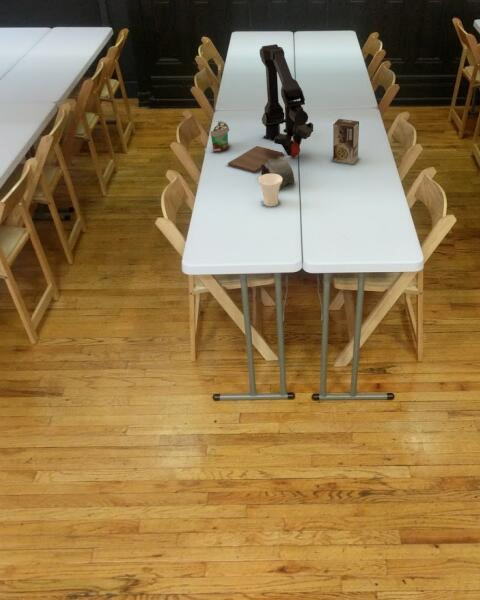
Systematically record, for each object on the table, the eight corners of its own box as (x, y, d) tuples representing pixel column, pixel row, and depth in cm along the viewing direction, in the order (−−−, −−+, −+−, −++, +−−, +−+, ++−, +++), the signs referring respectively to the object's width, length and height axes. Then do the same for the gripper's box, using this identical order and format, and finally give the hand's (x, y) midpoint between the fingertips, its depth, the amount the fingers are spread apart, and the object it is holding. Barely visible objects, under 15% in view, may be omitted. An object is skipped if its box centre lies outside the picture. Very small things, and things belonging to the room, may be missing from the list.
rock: (257, 173, 252) (256, 155, 248) (284, 169, 255) (283, 151, 250) (268, 193, 238) (267, 174, 234) (297, 189, 241) (296, 170, 236)
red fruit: (285, 155, 266) (285, 137, 261) (299, 154, 266) (299, 136, 261) (287, 161, 261) (286, 142, 256) (300, 160, 261) (300, 142, 257)
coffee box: (358, 158, 261) (359, 121, 251) (353, 164, 256) (354, 126, 247) (338, 155, 264) (338, 118, 254) (332, 161, 260) (332, 123, 250)
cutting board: (256, 148, 272) (256, 145, 272) (283, 155, 266) (283, 152, 265) (228, 165, 259) (228, 162, 258) (255, 173, 253) (255, 170, 252)
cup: (275, 210, 227) (274, 185, 221) (254, 204, 232) (253, 180, 226) (288, 200, 233) (288, 176, 227) (268, 195, 237) (266, 170, 231)
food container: (226, 154, 268) (224, 132, 262) (212, 153, 269) (210, 131, 263) (234, 143, 277) (232, 121, 271) (220, 142, 279) (218, 120, 273)
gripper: (296, 128, 243) (296, 165, 252) (321, 113, 255) (321, 149, 265) (272, 123, 248) (274, 159, 258) (298, 108, 260) (299, 143, 270)
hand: (293, 153), depth 262 cm, fingers closed on red fruit, 6 cm apart
